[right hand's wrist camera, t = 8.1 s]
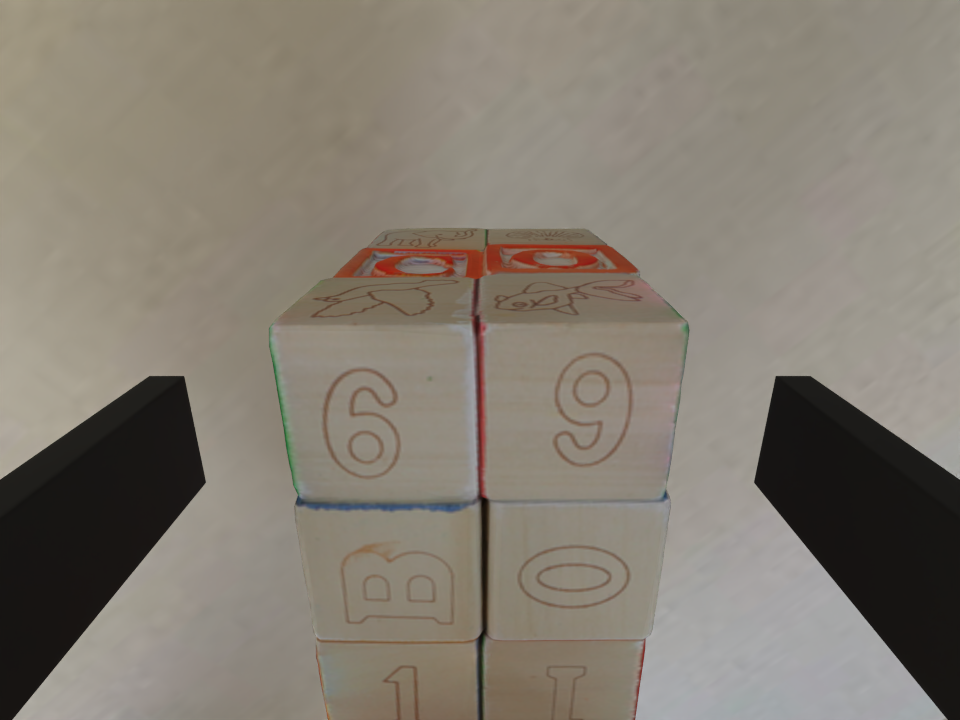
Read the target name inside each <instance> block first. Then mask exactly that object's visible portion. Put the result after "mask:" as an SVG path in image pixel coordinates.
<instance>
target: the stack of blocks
mask: <svg viewBox="0 0 960 720" xmlns="http://www.w3.org/2000/svg"><path fill="white" fill-rule="evenodd" d="M688 337H689V326H688V322H687V321H686V320H685V319H684V318H683V317H682V316H681V315H680V314H679V313H678V312H677V311H676V310H675V309H674V308H673V307H672V306H671V305H670V304H669V303H668V302H666V301H665V300H664V299H663V298H662V297H661V296H660V295H659V294H658V293H656V292H655V291H654V290H653V289H652V288H651V287H650V286H649V284H647V283H646V282H645V281H644V280H641V278H640V271H639V270H638V269H637V268H636V267H635V266H634V265H632V264H631V263H630V262H629V261H628V260H627V259H626V258H624V257H623V256H622V255H621V254H619V253H618V252H617V251H616V250H614V249H613V248H612V247H610V246H607V244H606V243H605V242H603V241H602V240H601V239H599V238H598V237H597V236H595V235H594V234H593V233H592V232H590V231H589V230H587V229H489V230H487V229H475V228H422V229H398V230H387V231H384V232H382V233H381V234H380V235H379V236H378V237H377V238H376V239H375V240H374V241H373V242H372V243H371V244H370V245H369V246H368V247H367V248H365V249H362V250H361V251H359V252H358V253H357V254H356V255H355V256H354V257H353V258H352V259H351V260H350V261H349V262H348V263H347V264H346V265H344V266H343V267H342V268H341V269H340V270H339V271H338V273H337V274H336V275H335V276H334V277H333V278H330V279H325V280H321V281H320V282H319V283H318V284H317V285H316V286H315V287H313V288H312V289H311V290H310V291H309V292H308V293H307V294H305V295H304V296H303V297H302V298H300V299H299V300H298V301H297V302H296V303H295V304H294V305H293V306H291V307H290V308H289V309H288V310H287V311H285V312H284V313H283V314H282V315H281V316H279V317H278V318H277V319H276V320H275V321H274V322H273V324H272V325H271V326H270V328H269V347H270V352H271V357H272V361H273V367H274V373H275V379H276V385H277V391H278V397H279V403H280V409H281V415H282V420H283V426H284V433H285V441H286V448H287V454H288V459H289V464H290V468H291V472H292V479H293V485H294V487H295V489H296V491H297V493H298V497H297V500H296V503H295V506H294V507H295V521H296V527H297V532H298V537H299V544H300V550H301V557H302V564H303V570H304V576H305V581H306V587H307V592H308V598H309V603H310V610H311V618H312V625H313V630H314V634H315V635H316V637H317V639H316V658H317V662H318V667H319V675H320V680H321V686H322V692H323V696H324V701H325V706H326V711H327V717H328V720H635V716H636V709H637V702H638V694H639V687H640V680H641V673H642V667H643V660H644V653H645V639H646V638H647V637H648V636H649V635H650V634H651V632H652V629H653V622H654V616H655V609H656V602H657V596H658V589H659V583H660V576H661V569H662V562H663V555H664V548H665V541H666V534H667V528H668V521H669V514H670V507H671V501H670V496H669V494H668V492H667V490H666V486H667V481H668V476H669V471H670V464H671V457H672V451H673V443H674V435H675V427H676V421H677V415H678V409H679V403H680V395H681V383H682V378H683V374H684V366H685V359H686V352H687V344H688Z"/></svg>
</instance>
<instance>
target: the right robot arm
mask: <svg viewBox="0 0 960 720" xmlns="http://www.w3.org/2000/svg"><path fill="white" fill-rule="evenodd" d="M205 483H206V480H205V476H204V471H203V466H202V461H201V456H200V451H199V446H198V442H197V437H196V432H195V427H194V422H193V417H192V412H191V407H190V403H189V398H188V393H187V388H186V383H185V378H184V376H149V377H148V378H146V379H145V380H143V381H142V382H140V383H139V384H138V385H136V386H135V387H133V388H132V389H130V390H129V391H127V392H126V393H125V394H123V395H122V396H120V397H119V398H117V399H116V400H114V401H113V402H112V403H110V404H109V405H107V406H106V407H104V408H103V409H101V410H100V411H99V412H97V413H96V414H94V415H93V416H91V417H90V418H89V419H87V420H86V421H84V422H83V423H81V424H80V425H78V426H77V427H76V428H74V429H73V430H71V431H70V432H68V433H67V434H65V435H64V436H63V437H61V438H60V439H58V440H57V441H55V442H54V443H52V444H51V445H50V446H48V447H47V448H45V449H44V450H42V451H41V452H40V453H38V454H37V455H35V456H34V457H32V458H31V459H29V460H28V461H27V462H25V463H24V464H22V465H21V466H19V467H18V468H16V469H15V470H14V471H12V472H11V473H9V474H8V475H6V476H5V477H3V478H2V479H1V480H0V720H12V719H13V718H14V717H15V716H16V714H17V713H18V712H19V711H20V710H21V708H22V707H23V706H24V705H25V703H26V702H27V701H28V700H29V699H30V697H31V696H32V695H33V694H34V692H35V691H36V690H37V689H38V688H39V686H40V685H41V684H42V683H43V681H44V680H45V679H46V678H47V677H48V675H49V674H50V673H51V672H52V670H53V669H54V668H55V667H56V665H57V664H58V663H59V662H60V661H61V659H62V658H63V657H64V656H65V654H66V653H67V652H68V651H69V650H70V648H71V647H72V646H73V645H74V643H75V642H76V641H77V640H78V639H79V637H80V636H81V635H82V634H83V632H84V631H85V630H86V629H87V628H88V626H89V625H90V624H91V623H92V621H93V620H94V619H95V618H96V617H97V615H98V614H99V613H100V612H101V610H102V609H103V608H104V607H105V605H106V604H107V603H108V602H109V601H110V599H111V598H112V597H113V596H114V594H115V593H116V592H117V591H118V590H119V588H120V587H121V586H122V585H123V583H124V582H125V581H126V580H127V579H128V577H129V576H130V575H131V574H132V572H133V571H134V570H135V569H136V568H137V566H138V565H139V564H140V563H141V561H142V560H143V559H144V558H145V557H146V555H147V554H148V553H149V552H150V550H151V549H152V548H153V547H154V545H155V544H156V543H157V542H158V541H159V539H160V538H161V537H162V536H163V534H164V533H165V532H166V531H167V530H168V528H169V527H170V526H171V525H172V523H173V522H174V521H175V520H176V519H177V517H178V516H179V515H180V514H181V512H182V511H183V510H184V509H185V508H186V506H187V505H188V504H189V503H190V501H191V500H192V499H193V498H194V497H195V495H196V494H197V493H198V492H199V490H200V489H201V488H202V487H203V485H204V484H205ZM754 483H755V484H756V485H757V487H758V488H759V489H760V490H761V492H762V493H763V494H764V495H765V497H766V498H767V499H768V500H769V501H770V503H771V504H772V505H773V506H774V508H775V509H776V510H777V511H778V512H779V514H780V515H781V516H782V517H783V519H784V520H785V521H786V522H787V523H788V525H789V526H790V527H791V528H792V530H793V531H794V532H795V533H796V534H797V536H798V537H799V538H800V539H801V541H802V542H803V543H804V544H805V545H806V547H807V548H808V549H809V550H810V552H811V553H812V554H813V555H814V557H815V558H816V559H817V560H818V561H819V563H820V564H821V565H822V566H823V568H824V569H825V570H826V571H827V572H828V574H829V575H830V576H831V577H832V579H833V580H834V581H835V582H836V583H837V585H838V586H839V587H840V588H841V590H842V591H843V592H844V593H845V594H846V596H847V597H848V598H849V599H850V601H851V602H852V603H853V604H854V605H855V607H856V608H857V609H858V610H859V612H860V613H861V614H862V615H863V617H864V618H865V619H866V620H867V621H868V623H869V624H870V625H871V626H872V628H873V629H874V630H875V631H876V632H877V634H878V635H879V636H880V637H881V639H882V640H883V641H884V642H885V643H886V645H887V646H888V647H889V648H890V650H891V651H892V652H893V653H894V654H895V656H896V657H897V658H898V659H899V661H900V662H901V663H902V664H903V665H904V667H905V668H906V669H907V670H908V672H909V673H910V674H911V675H912V677H913V678H914V679H915V680H916V681H917V683H918V684H919V685H920V686H921V688H922V689H923V690H924V691H925V692H926V694H927V695H928V696H929V697H930V699H931V700H932V701H933V702H934V703H935V705H936V706H937V707H938V708H939V710H940V711H941V712H942V713H943V714H944V716H945V717H946V718H947V719H948V720H960V480H959V479H958V478H957V477H955V476H954V475H952V474H951V473H949V472H948V471H946V470H945V469H944V468H942V467H941V466H939V465H938V464H936V463H935V462H933V461H932V460H931V459H929V458H928V457H926V456H925V455H923V454H922V453H920V452H919V451H918V450H916V449H915V448H913V447H912V446H910V445H909V444H908V443H906V442H905V441H903V440H902V439H900V438H899V437H897V436H896V435H895V434H893V433H892V432H890V431H889V430H887V429H886V428H884V427H883V426H882V425H880V424H879V423H877V422H876V421H874V420H873V419H871V418H870V417H869V416H867V415H866V414H864V413H863V412H861V411H860V410H859V409H857V408H856V407H854V406H853V405H851V404H850V403H848V402H847V401H846V400H844V399H843V398H841V397H840V396H838V395H837V394H835V393H834V392H833V391H831V390H830V389H828V388H827V387H825V386H824V385H822V384H821V383H820V382H818V381H817V380H815V379H814V378H812V377H811V376H776V378H775V383H774V388H773V393H772V398H771V403H770V407H769V412H768V417H767V422H766V427H765V432H764V437H763V442H762V446H761V451H760V456H759V461H758V466H757V471H756V476H755V480H754Z"/></svg>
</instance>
